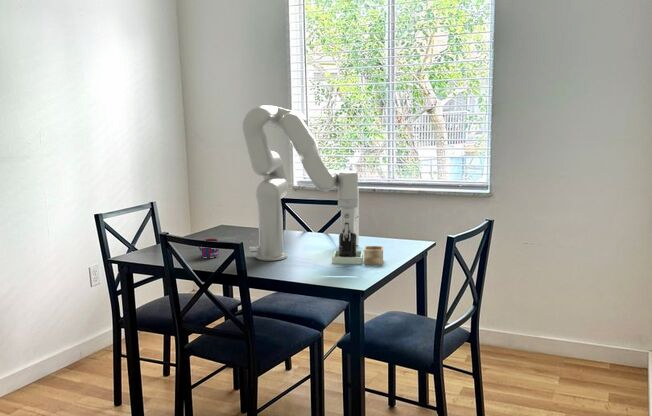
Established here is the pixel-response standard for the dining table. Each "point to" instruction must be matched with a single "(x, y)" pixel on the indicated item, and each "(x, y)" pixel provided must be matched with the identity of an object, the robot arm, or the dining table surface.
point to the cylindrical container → (357, 220)
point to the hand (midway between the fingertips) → (347, 248)
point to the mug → (209, 250)
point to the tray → (347, 258)
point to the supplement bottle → (353, 246)
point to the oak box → (373, 255)
